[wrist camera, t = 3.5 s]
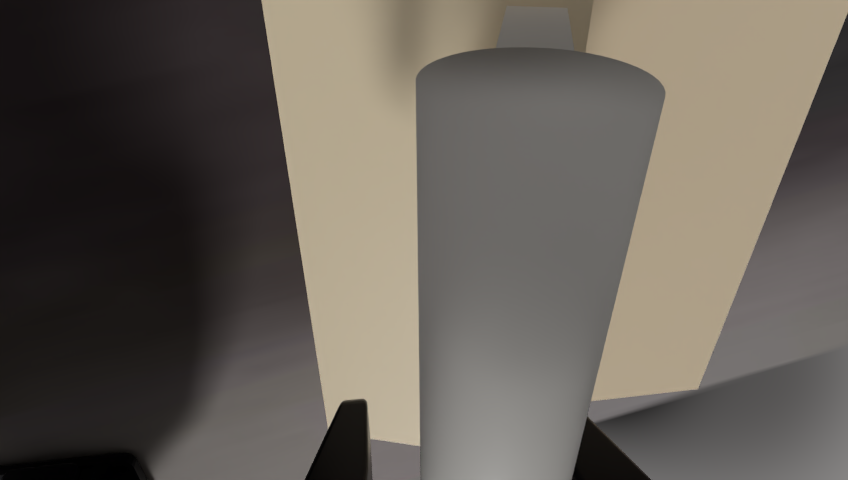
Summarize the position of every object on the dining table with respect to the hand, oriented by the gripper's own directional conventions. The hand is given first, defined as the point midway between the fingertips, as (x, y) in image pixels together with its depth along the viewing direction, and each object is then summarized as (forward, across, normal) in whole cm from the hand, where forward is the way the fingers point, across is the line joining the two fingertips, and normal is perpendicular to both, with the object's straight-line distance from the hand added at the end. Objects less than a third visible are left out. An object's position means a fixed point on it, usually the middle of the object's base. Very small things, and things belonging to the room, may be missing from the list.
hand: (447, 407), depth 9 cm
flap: (+5, 0, 0) cm, 5 cm away
